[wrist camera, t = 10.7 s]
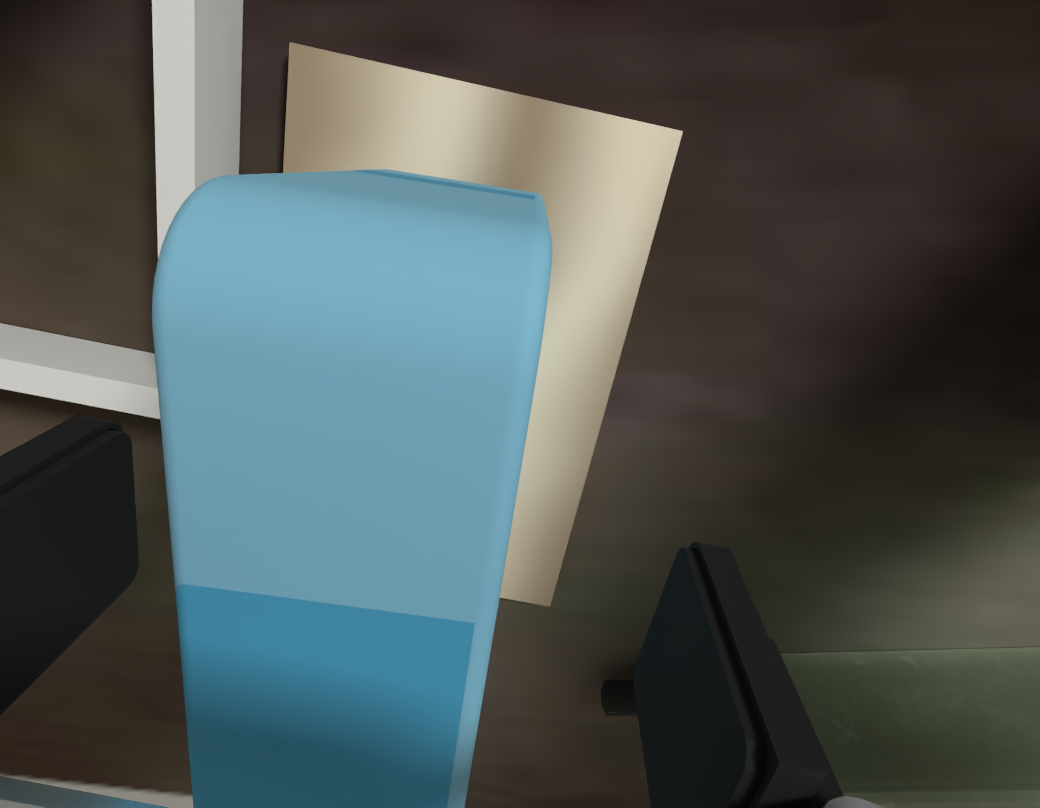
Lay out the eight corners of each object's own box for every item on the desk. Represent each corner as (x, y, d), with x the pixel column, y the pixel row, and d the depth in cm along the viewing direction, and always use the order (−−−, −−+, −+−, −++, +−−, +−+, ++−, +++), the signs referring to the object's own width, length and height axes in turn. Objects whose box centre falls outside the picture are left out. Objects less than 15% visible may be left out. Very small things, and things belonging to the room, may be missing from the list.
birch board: (678, 132, 17) (682, 131, 17) (549, 597, 24) (549, 606, 23) (296, 45, 17) (289, 42, 16) (268, 546, 23) (263, 554, 22)
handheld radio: (1205, 691, 25) (599, 705, 26) (1232, 626, 24) (597, 643, 25) (1434, 862, 18) (619, 870, 20) (1485, 783, 17) (619, 797, 18)
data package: (390, 166, 17) (126, 173, 6) (544, 191, 17) (560, 241, 6) (368, 518, 22) (193, 890, 11) (492, 535, 22) (446, 921, 11)
